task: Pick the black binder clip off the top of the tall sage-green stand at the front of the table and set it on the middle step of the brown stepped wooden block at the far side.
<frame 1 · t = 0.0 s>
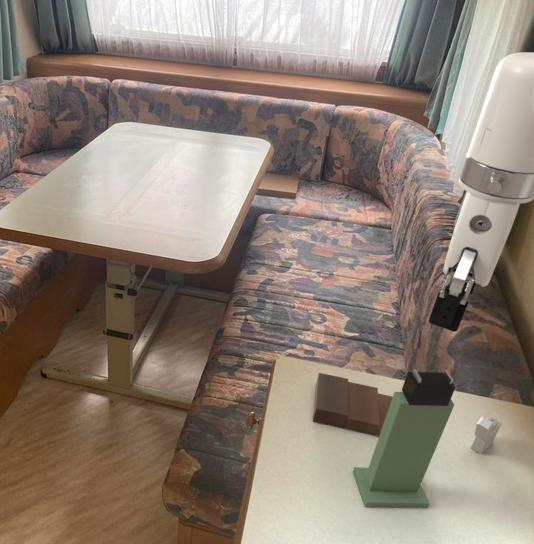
hand: (450, 307, 71), 30 cm above the table, tool pointing down, fingers open, 9 cm apart
stand: (389, 489, 83), on the table
white blocky piece: (476, 450, 91), on the table
brown stepped wooden block: (359, 412, 96), on the table
clip: (424, 398, 74), point 18 cm above the table, touching stand
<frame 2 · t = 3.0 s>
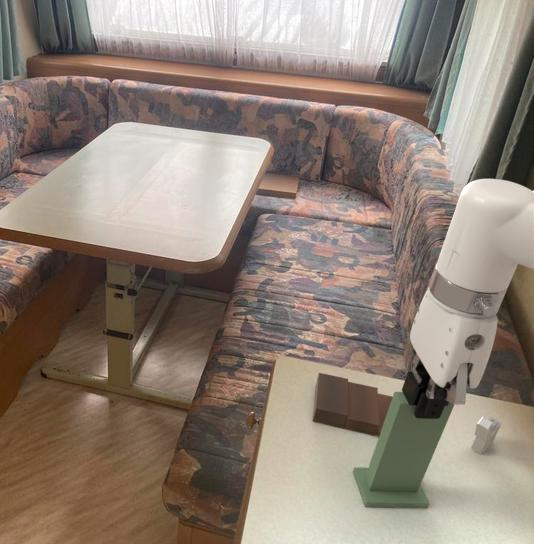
hand: (421, 405, 75), 17 cm above the table, tool pointing down, fingers closed on clip, 2 cm apart
clip: (424, 398, 74), point 18 cm above the table, touching gripper, stand
everything else where it was.
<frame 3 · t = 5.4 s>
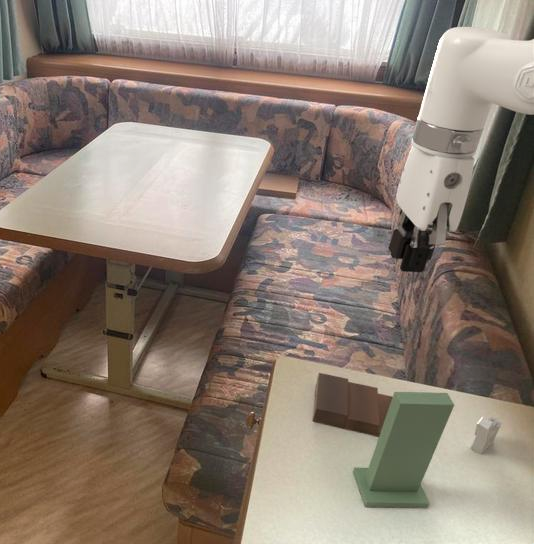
hand: (406, 263, 81), 29 cm above the table, tool pointing down, fingers closed on clip, 2 cm apart
clip: (409, 254, 80), point 31 cm above the table, touching gripper
everything else where it was.
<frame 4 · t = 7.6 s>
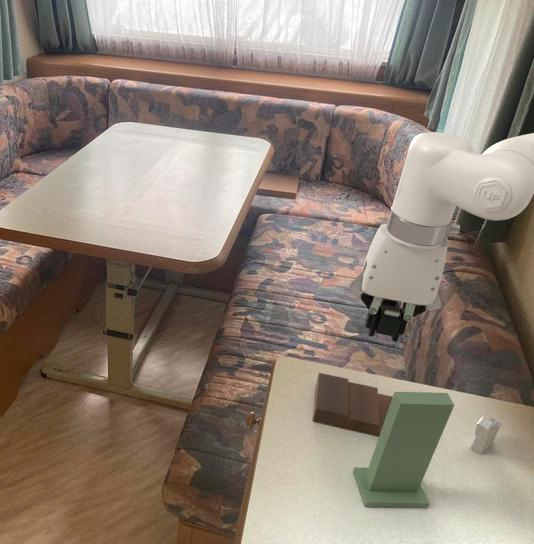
hand: (382, 332, 87), 17 cm above the table, tool pointing down, fingers closed on clip, 2 cm apart
clip: (384, 325, 87), point 18 cm above the table, touching gripper
everything else where it was.
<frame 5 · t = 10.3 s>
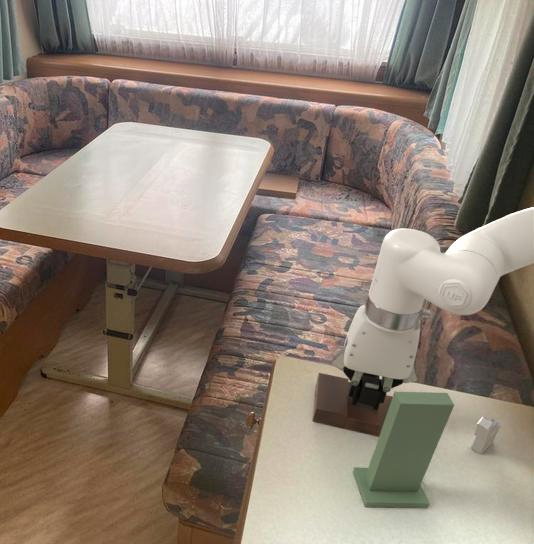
hand: (364, 400, 95), 3 cm above the table, tool pointing down, fingers closed on clip, 2 cm apart
clip: (366, 394, 94), point 4 cm above the table, touching gripper
everything else where it was.
when the fingers open (3 cm above the table, at t = 12.5 s): clip drops 2 cm, resting on brown stepped wooden block.
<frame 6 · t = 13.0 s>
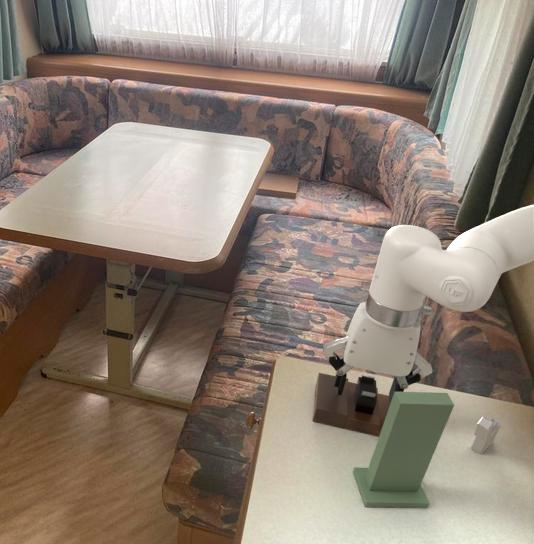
hand: (365, 394, 94), 4 cm above the table, tool pointing down, fingers open, 7 cm apart
clip: (363, 402, 95), point 2 cm above the table, touching brown stepped wooden block
everything else where it was.
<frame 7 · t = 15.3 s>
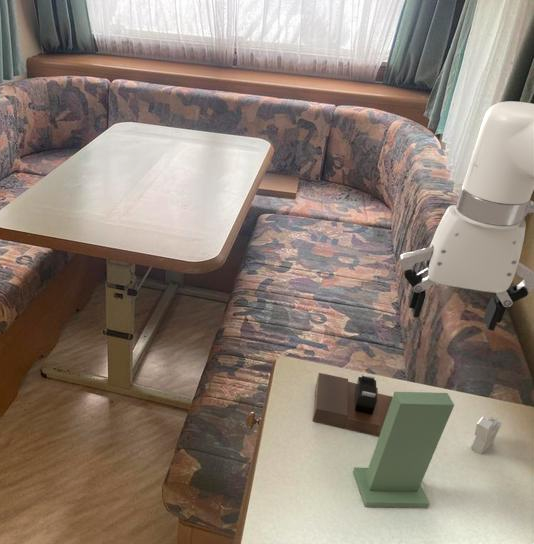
hand: (451, 318, 80), 23 cm above the table, tool pointing down, fingers open, 9 cm apart
nothing on the table moved.
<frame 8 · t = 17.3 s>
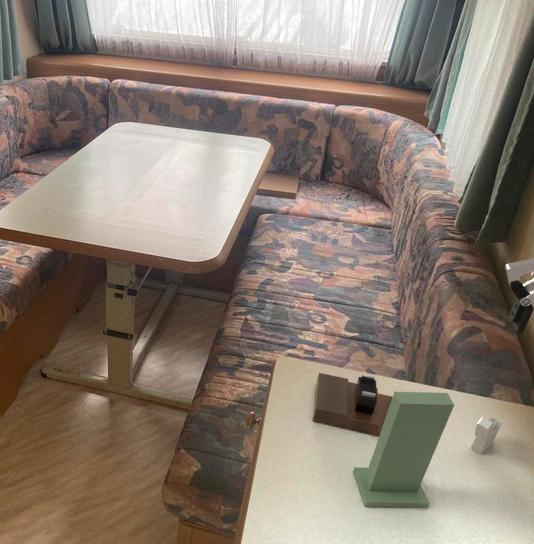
nothing on the table moved.
at the end: clip 0.1 cm off-centre on the brown stepped wooden block, point 2.4 cm above the brown stepped wooden block's base; clip tilted 0°; the gripper is holding nothing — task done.
